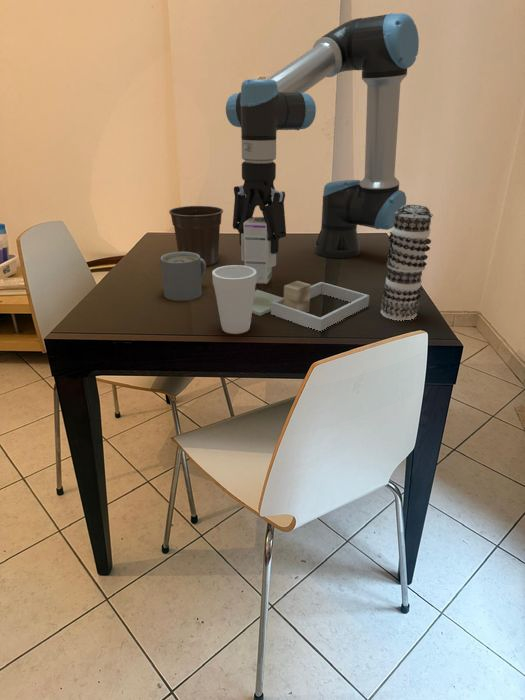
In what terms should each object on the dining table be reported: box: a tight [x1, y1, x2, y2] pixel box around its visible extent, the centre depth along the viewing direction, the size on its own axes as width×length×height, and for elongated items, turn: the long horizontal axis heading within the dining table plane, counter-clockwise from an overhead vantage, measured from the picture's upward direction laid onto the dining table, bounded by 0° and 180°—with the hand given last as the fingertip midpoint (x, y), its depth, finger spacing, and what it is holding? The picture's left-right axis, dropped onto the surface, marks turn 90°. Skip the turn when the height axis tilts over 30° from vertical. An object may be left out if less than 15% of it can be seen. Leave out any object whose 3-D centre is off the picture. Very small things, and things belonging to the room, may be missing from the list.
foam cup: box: [211, 264, 258, 335], centre depth 101 cm, size 10×9×13 cm
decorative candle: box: [380, 204, 434, 322], centre depth 106 cm, size 9×9×25 cm
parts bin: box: [270, 281, 370, 332], centre depth 112 cm, size 20×15×3 cm
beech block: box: [283, 280, 312, 313], centre depth 110 cm, size 5×4×7 cm
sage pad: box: [252, 289, 283, 317], centre depth 117 cm, size 11×11×1 cm
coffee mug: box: [160, 251, 207, 302], centre depth 121 cm, size 13×10×10 cm
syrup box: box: [243, 216, 273, 285], centre depth 110 cm, size 6×6×14 cm
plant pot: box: [168, 205, 224, 267], centre depth 144 cm, size 16×16×16 cm
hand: (258, 262), depth 112 cm, fingers closed on syrup box, 7 cm apart
